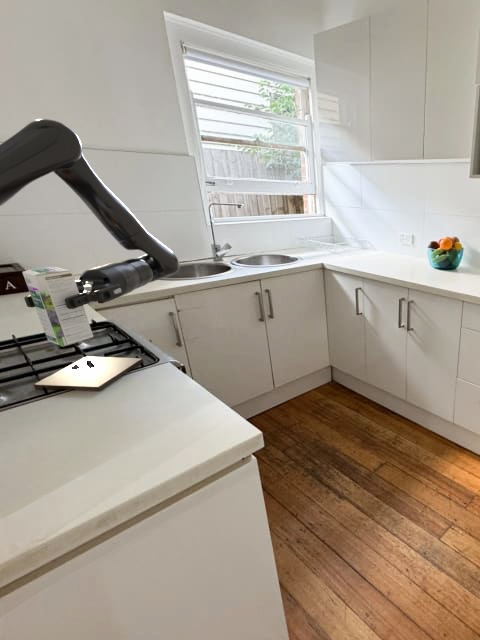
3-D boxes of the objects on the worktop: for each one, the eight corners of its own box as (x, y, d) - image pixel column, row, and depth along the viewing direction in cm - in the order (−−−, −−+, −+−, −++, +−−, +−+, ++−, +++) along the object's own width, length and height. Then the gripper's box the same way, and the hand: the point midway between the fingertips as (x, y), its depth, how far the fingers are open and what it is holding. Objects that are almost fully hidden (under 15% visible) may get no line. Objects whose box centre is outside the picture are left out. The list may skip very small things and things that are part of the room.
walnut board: (34, 388, 81) (33, 384, 81) (87, 359, 94) (86, 356, 94) (99, 391, 81) (98, 387, 81) (143, 361, 94) (142, 358, 94)
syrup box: (46, 341, 77) (18, 271, 71) (80, 331, 82) (56, 265, 76) (62, 347, 75) (34, 275, 69) (95, 337, 80) (72, 268, 74)
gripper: (75, 263, 86) (2, 283, 71) (138, 266, 86) (78, 285, 71) (86, 295, 90) (18, 320, 75) (146, 297, 89) (90, 323, 74)
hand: (47, 303), depth 73 cm, fingers closed on syrup box, 7 cm apart
